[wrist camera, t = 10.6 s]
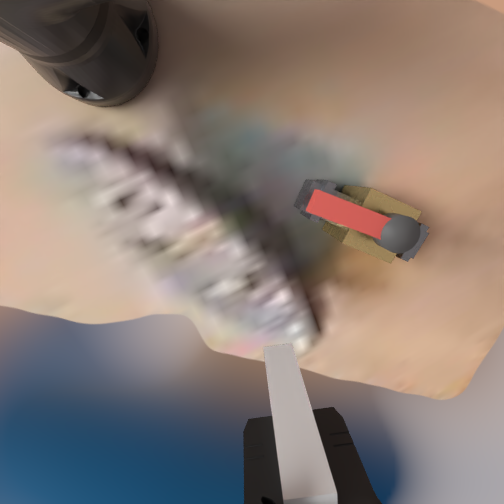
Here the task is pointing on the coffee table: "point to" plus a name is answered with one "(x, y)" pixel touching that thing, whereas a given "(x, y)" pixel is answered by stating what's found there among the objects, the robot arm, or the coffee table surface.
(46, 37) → the robot arm
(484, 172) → the coffee table surface
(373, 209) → the valve
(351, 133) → the coffee table surface
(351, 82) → the coffee table surface
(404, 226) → the lever
